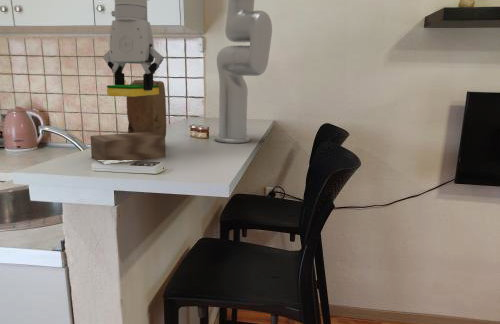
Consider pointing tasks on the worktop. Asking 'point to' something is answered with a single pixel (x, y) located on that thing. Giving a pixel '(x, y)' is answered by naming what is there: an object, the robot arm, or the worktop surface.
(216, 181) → the worktop surface
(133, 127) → the block
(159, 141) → the walnut block
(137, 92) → the dish sponge
